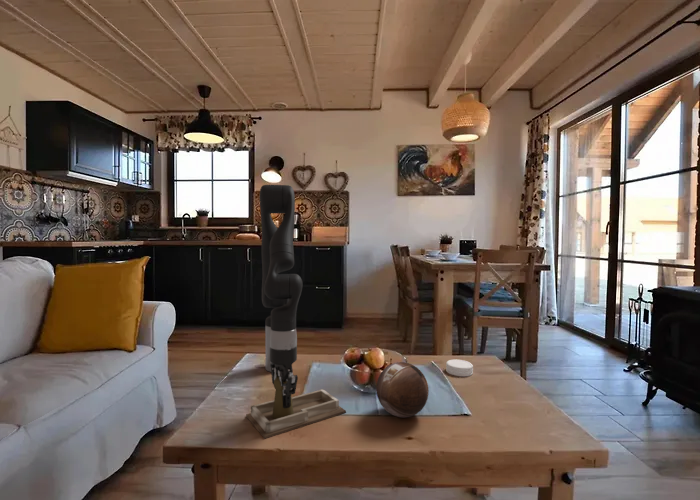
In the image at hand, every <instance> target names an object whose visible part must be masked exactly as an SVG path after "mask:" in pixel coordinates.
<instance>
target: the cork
mask: <svg viewBox="0 0 700 500" xmlns="http://www.w3.org/2000/svg"><path fill="white" fill-rule="evenodd" d="M283 383H284V384H285V383H287V381H286V382H283ZM273 387H274V390H275V392H274V399H273V400H274V406H273V414H272V417H273V418H274V419H279V418H282V417H285V416H289V415H292V414H294V412H293V405H292V397H293V396H291V406H290V407H289V408H283V399H282V397H283V393H282V389H283V387H281V385H280V380H279V377H277V378H275V380H274V384H273ZM285 390H286V387H285Z"/></svg>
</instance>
